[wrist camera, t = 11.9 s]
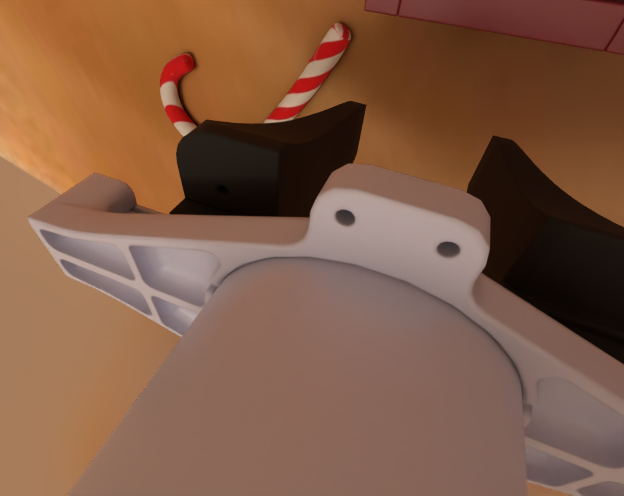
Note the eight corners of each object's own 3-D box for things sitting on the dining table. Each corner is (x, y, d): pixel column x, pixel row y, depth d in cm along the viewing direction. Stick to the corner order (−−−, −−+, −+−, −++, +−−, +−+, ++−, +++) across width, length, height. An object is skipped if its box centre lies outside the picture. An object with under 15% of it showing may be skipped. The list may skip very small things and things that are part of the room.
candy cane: (372, 93, 19) (210, 176, 28) (377, 85, 20) (218, 168, 29) (297, -67, 16) (139, 87, 25) (307, -69, 16) (151, 81, 25)
